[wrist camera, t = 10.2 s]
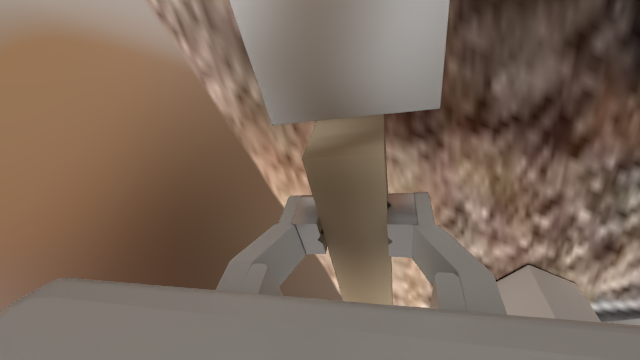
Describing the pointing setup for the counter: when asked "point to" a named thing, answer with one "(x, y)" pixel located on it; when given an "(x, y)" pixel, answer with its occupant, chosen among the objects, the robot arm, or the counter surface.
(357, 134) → the turner
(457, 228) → the counter surface
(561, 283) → the milk carton
